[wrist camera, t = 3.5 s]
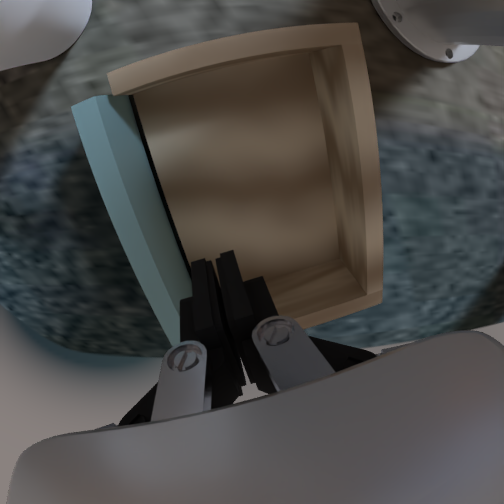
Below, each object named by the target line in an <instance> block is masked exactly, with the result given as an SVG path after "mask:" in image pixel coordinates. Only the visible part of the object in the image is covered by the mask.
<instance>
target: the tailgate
mask: <svg viewBox="0 0 504 504" xmlns="http://www.w3.org/2000/svg"><path fill="white" fill-rule="evenodd" d="M71 108H72V112H73V115H74V118H75V122H76V125H77V128H78V131H79V134H80V137H81V140H82V143H83V146H84V149H85V152H86V155H87V158H88V161H89V164H90V167H91V169H92V172H93V175H94V177H95V180H96V183H97V185H98V188H99V191H100V193H101V196H102V198H103V201H104V204H105V206H106V208H107V211H108V213H109V216H110V218H111V221H112V223H113V225H114V228H115V230H116V233H117V235H118V237H119V239H120V242H121V244H122V246H123V249H124V251H125V253H126V255H127V257H128V260H129V262H130V264H131V266H132V268H133V270H134V272H135V275H136V277H137V279H138V281H139V283H140V285H141V287H142V289H143V291H144V293H145V295H146V297H147V299H148V301H149V303H150V305H151V307H152V309H153V311H154V313H155V315H156V317H157V319H158V321H159V323H160V324H161V326H162V328H163V330H164V332H165V334H166V336H167V337H168V339H169V341H170V343H171V345H172V346H174V345H176V344H178V343H180V300H181V299H185V298H188V297H192V281H191V278H190V276H189V273H188V271H187V268H186V265H185V263H184V260H183V258H182V255H181V252H180V250H179V247H178V244H177V242H176V239H175V236H174V234H173V231H172V228H171V225H170V223H169V220H168V217H167V214H166V212H165V209H164V206H163V203H162V200H161V197H160V194H159V191H158V189H157V186H156V183H155V180H154V177H153V174H152V171H151V168H150V165H149V162H148V158H147V155H146V152H145V149H144V146H143V143H142V140H141V136H140V133H139V130H138V127H137V123H136V120H135V117H134V113H133V110H132V106H131V103H130V100H129V96H128V95H119V96H113V95H102V96H94V97H92V98H89V99H87V100H85V101H83V102H80V103H78V104H76V105H74V106H72V107H71Z"/></svg>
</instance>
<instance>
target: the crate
mask: <svg viewBox="0 0 504 504" xmlns="http://www.w3.org/2000/svg"><path fill="white" fill-rule="evenodd" d="M107 76H108V79H109V83H110V87H111V90H112V94H113V96H119V95H133V96H134V100H135V103H136V107H137V110H138V113H139V117H140V120H141V123H142V127H143V130H144V133H145V137H146V140H147V143H148V146H149V149H150V153H151V156H152V159H153V162H154V165H155V168H156V171H157V174H158V177H159V180H160V183H161V186H162V189H163V192H164V195H165V198H166V201H167V204H168V207H169V210H170V213H171V215H172V218H173V221H174V224H175V227H176V229H177V232H178V235H179V238H180V240H181V243H182V246H183V249H184V251H185V254H186V257H187V259H188V262H189V265H190V267H191V262H193V261H196V260H199V259H203V258H205V260H206V261H209V260H211V261H212V264H213V267H214V270H215V272H216V275H217V278H218V281H219V276H218V271H217V266H216V260H215V259H216V258H219V257H220V253H223V252H227V251H230V250H234V254H235V257H236V260H237V263H238V267H239V270H240V273H241V277H242V280H243V281H247V280H250V279H253V278H257V277H260V276H263V278H264V280H265V283H266V285H267V288H268V290H269V292H270V295H271V297H272V300H273V302H274V304H275V307H276V309H277V312H278V314H279V316H280V315H281V316H288V317H291V318H293V319H294V320H295V321H297V322H298V324H299V325H300V326H301V328H302V329H306V328H309V327H312V326H315V325H319V324H322V323H325V322H328V321H331V320H334V319H337V318H340V317H343V316H346V315H349V314H351V313H354V312H357V311H360V310H363V309H366V308H368V307H371V306H374V305H377V304H379V303H382V290H383V215H382V193H381V177H380V163H379V152H378V142H377V133H376V124H375V116H374V109H373V101H372V95H371V88H370V82H369V76H368V70H367V65H366V60H365V54H364V49H363V45H362V40H361V35H360V31H359V26H358V23H329V24H314V25H302V26H293V27H284V28H276V29H269V30H262V31H256V32H250V33H244V34H239V35H234V36H229V37H224V38H219V39H215V40H211V41H206V42H202V43H198V44H194V45H190V46H187V47H183V48H179V49H176V50H173V51H169V52H166V53H163V54H159V55H156V56H153V57H150V58H147V59H144V60H141V61H138V62H135V63H133V64H130V65H127V66H124V67H122V68H119V69H117V70H114V71H111V72H109V73H107ZM219 284H220V282H219Z"/></svg>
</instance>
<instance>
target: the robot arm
mask: <svg viewBox="0 0 504 504" xmlns="http://www.w3.org/2000/svg"><path fill="white" fill-rule="evenodd" d="M371 1H372V3H373V6H374V8H375V9H376V11H377V12H378V14H379V16H380V17H381V19H382V20H383V22H384V23H385V24H386V25H387V27H388V28H389V29H390V31H391V32H392V33H393V34H394V35H395V36H396V37H397V38H398V39H399V40H400V41H401V42H402V43H403V44H404V45H406V46H407V47H408V48H410V49H411V50H412V51H414V52H415V53H417V54H419V55H421V56H423V57H424V58H427V59H430V60H433V61H436V62H445V63H457V62H461V61H464V60H466V59H468V58H469V57H471V56H472V55H473V54H474V53H475V52H476V50H477V49H478V48H479V46H480V45H490V46H504V0H371ZM215 260H216V266H217V271H218V276H219V281H218V278H217V275H216V272H215V270H214V267H213V264H212V261H211V260H209V261H206V260H205V258H203V259H199V260H196V261H193V262H191V278H192V297H188V298H185V299H181V300H180V343H178V344H176V345H174V346H173V347H172V348H170V349H169V350H168V351H167V353H166V354H165V356H164V358H163V361H162V366H161V371H160V376H159V381H158V382H157V384H156V385H155V386H154V387H153V388H152V389H151V390H150V391H149V392H148V393H147V394H146V395H145V396H144V397H143V398H142V399H141V400H140V401H139V402H138V403H137V404H136V405H135V406H134V407H133V408H132V409H131V410H130V411H129V412H128V413H127V414H126V415H125V416H124V417H123V418H122V420H121V421H120V423H119V425H117V426H116V425H115V424H114V423H112V424H109V425H106V426H104V427H101V428H98V429H95V430H88V431H81V432H74V433H67V434H62V435H58V436H53V437H50V438H47V439H44V440H42V441H40V442H37V443H35V444H33V445H32V446H30V447H29V448H27V449H26V450H25V451H23V453H22V454H21V455H20V456H19V458H18V460H17V462H16V465H15V467H14V470H13V473H12V477H11V481H10V485H9V490H8V496H7V502H6V504H504V346H503V345H502V344H501V343H500V342H498V341H497V340H496V339H494V338H493V337H491V336H489V335H487V334H485V333H483V332H479V331H470V330H465V331H454V332H447V333H442V334H438V335H434V336H430V337H427V338H424V339H421V340H418V341H415V342H412V343H409V344H405V345H400V346H396V347H391V348H387V349H382V350H381V353H380V354H374V353H372V352H369V351H367V350H363V349H359V348H355V347H351V346H346V345H342V344H338V343H334V342H330V341H326V340H322V339H318V338H315V337H311V336H308V335H307V334H306V333H305V331H304V330H303V329H302V328H301V326H300V325H299V324H298V322H297V321H295V320H294V319H293V318H291V317H288V316H281V315H280V316H279V314H278V312H277V309H276V307H275V304H274V302H273V300H272V297H271V295H270V292H269V290H268V288H267V285H266V283H265V280H264V278H263V276H260V277H257V278H253V279H250V280H247V281H243V280H242V277H241V273H240V270H239V267H238V263H237V260H236V257H235V254H234V250H230V251H227V252H223V253H220V257H219V258H216V259H215ZM219 282H220V284H219ZM239 354H240V355H239ZM240 357H241V359H240ZM241 360H242V362H243V365H244V367H245V370H246V372H247V375H248V377H249V380H250V382H251V384H252V383H256V385H257V387H258V390H260V391H263V392H265V393H268V395H265V396H261V397H258V398H254V399H250V400H247V401H243V402H239V403H236V404H233V402H234V401H235V400H236V399H237V397H238V396H241V395H243V393H242V389H241V386H245V385H246V381H245V376H244V372H243V368H242V363H241Z"/></svg>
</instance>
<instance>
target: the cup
mask: <svg viewBox="0 0 504 504" xmlns="http://www.w3.org/2000/svg"><path fill="white" fill-rule="evenodd" d="M91 8H92V0H0V71H2V70H6V69H10V68H14V67H18V66H23V65H27V64H32V63H37V62H42V61H46V60H49V59H52V58H54V57H56V56H58V55H60V54H61V53H63V52H64V51H65V50H67V49H68V48H69V47H70V46H71V45H72V44H73V43H74V42H75V41H76V40H77V39H78V37H79V36H80V35H81V33H82V32H83V30H84V28H85V27H86V25H87V22H88V20H89V17H90V14H91Z"/></svg>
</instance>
